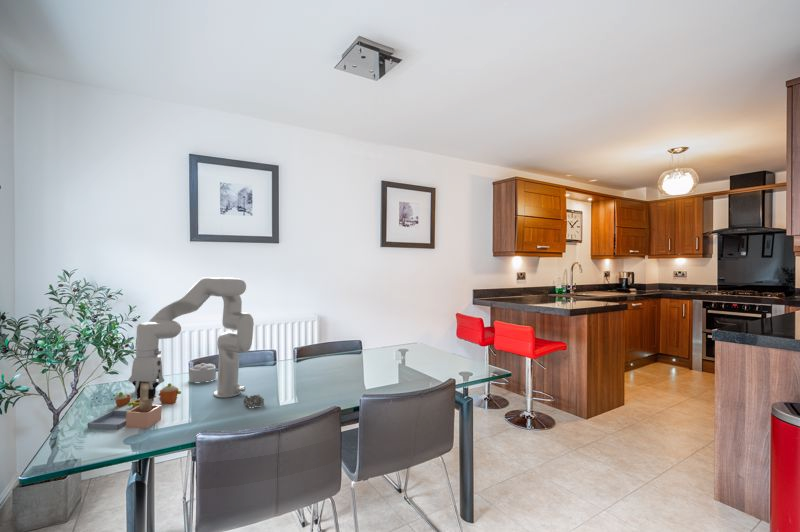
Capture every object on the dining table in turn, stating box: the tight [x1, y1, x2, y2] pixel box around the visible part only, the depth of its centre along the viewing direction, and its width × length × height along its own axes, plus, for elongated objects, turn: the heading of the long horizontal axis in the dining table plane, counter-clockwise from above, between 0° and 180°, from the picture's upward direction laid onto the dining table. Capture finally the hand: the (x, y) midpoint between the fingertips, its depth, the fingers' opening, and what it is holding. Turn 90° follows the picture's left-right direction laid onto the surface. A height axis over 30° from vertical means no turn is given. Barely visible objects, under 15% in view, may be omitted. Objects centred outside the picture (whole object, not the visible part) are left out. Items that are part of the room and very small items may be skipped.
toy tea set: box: [113, 382, 182, 409], centre depth 174 cm, size 26×16×10 cm, turn 133°
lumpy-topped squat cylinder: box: [188, 362, 217, 383], centre depth 210 cm, size 10×13×9 cm
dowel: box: [139, 382, 153, 412], centre depth 152 cm, size 4×4×13 cm
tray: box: [87, 409, 129, 431], centre depth 152 cm, size 12×13×3 cm
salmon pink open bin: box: [125, 404, 163, 429], centre depth 152 cm, size 9×9×7 cm
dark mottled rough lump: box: [242, 393, 265, 409], centre depth 179 cm, size 11×8×4 cm
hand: (145, 397), depth 152 cm, fingers closed on dowel, 4 cm apart
